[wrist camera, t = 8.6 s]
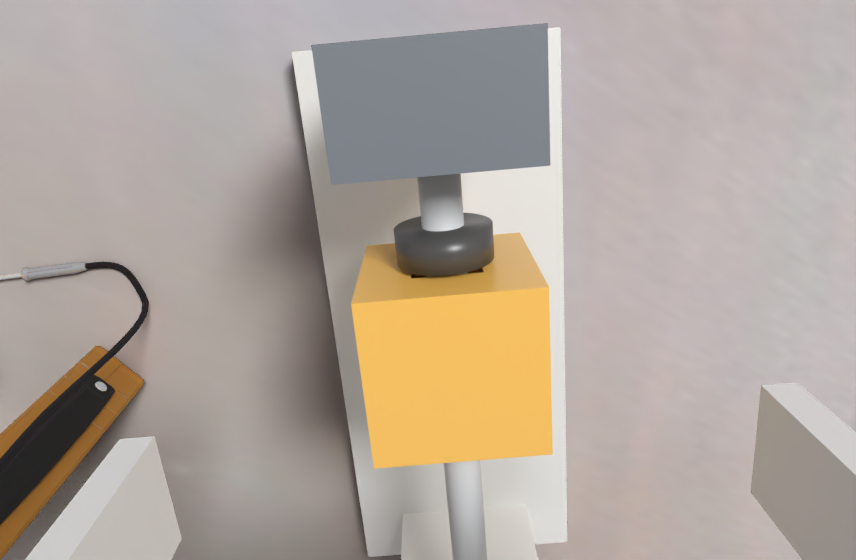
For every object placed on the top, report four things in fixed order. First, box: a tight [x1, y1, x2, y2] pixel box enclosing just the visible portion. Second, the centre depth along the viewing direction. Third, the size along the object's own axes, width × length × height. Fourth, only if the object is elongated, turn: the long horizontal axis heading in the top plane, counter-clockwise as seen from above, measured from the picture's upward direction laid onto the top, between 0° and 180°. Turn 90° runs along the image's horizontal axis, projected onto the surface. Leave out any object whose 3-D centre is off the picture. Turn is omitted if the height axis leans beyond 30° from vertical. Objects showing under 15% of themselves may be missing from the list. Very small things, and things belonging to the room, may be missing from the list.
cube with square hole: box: [351, 232, 553, 469], centre depth 19 cm, size 5×5×5 cm
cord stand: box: [292, 23, 567, 560], centre depth 23 cm, size 24×10×12 cm, turn 5°
